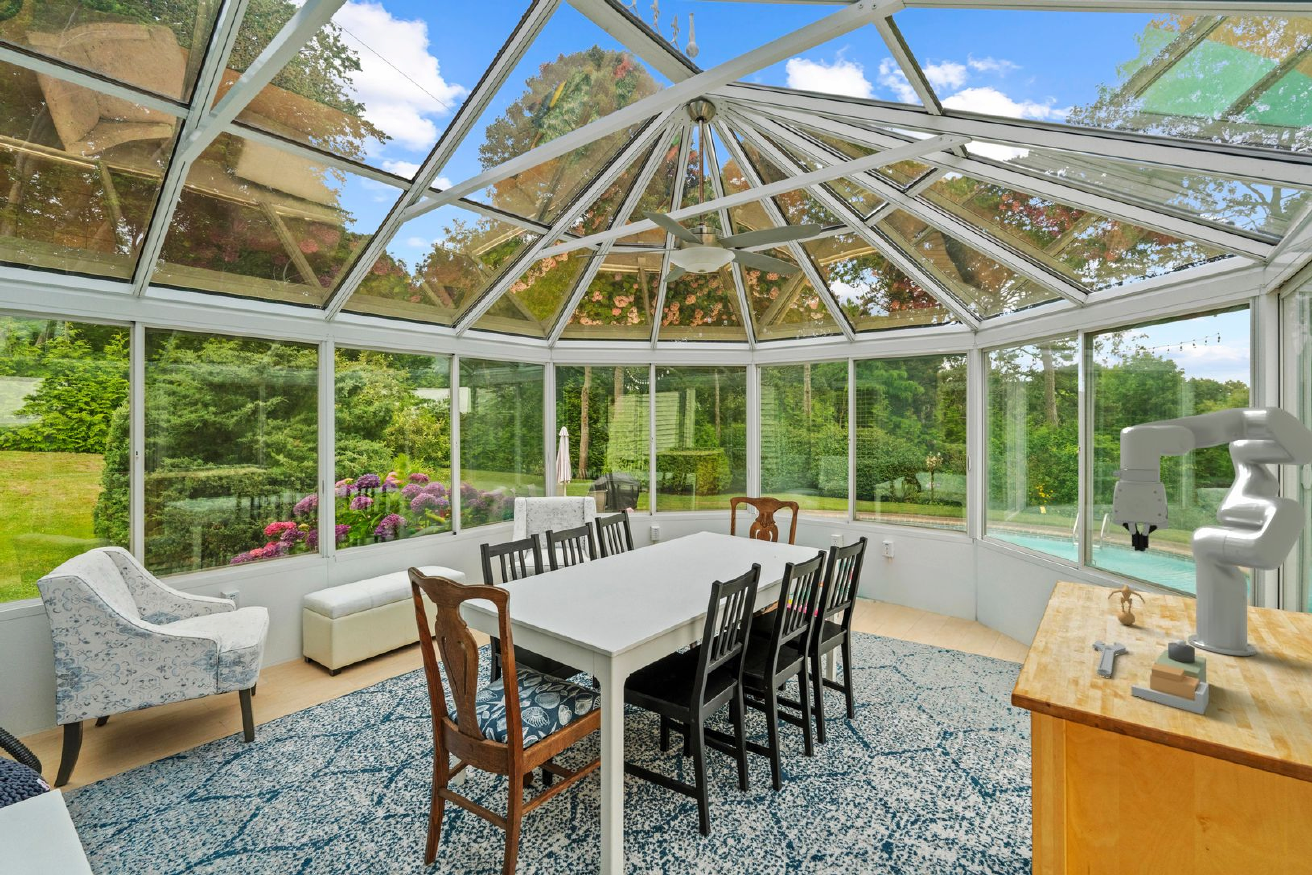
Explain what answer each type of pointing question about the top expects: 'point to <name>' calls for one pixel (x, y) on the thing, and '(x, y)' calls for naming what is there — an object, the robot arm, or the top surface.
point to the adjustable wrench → (1107, 656)
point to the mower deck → (1194, 668)
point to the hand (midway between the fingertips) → (1140, 550)
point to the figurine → (1127, 616)
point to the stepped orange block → (1173, 681)
